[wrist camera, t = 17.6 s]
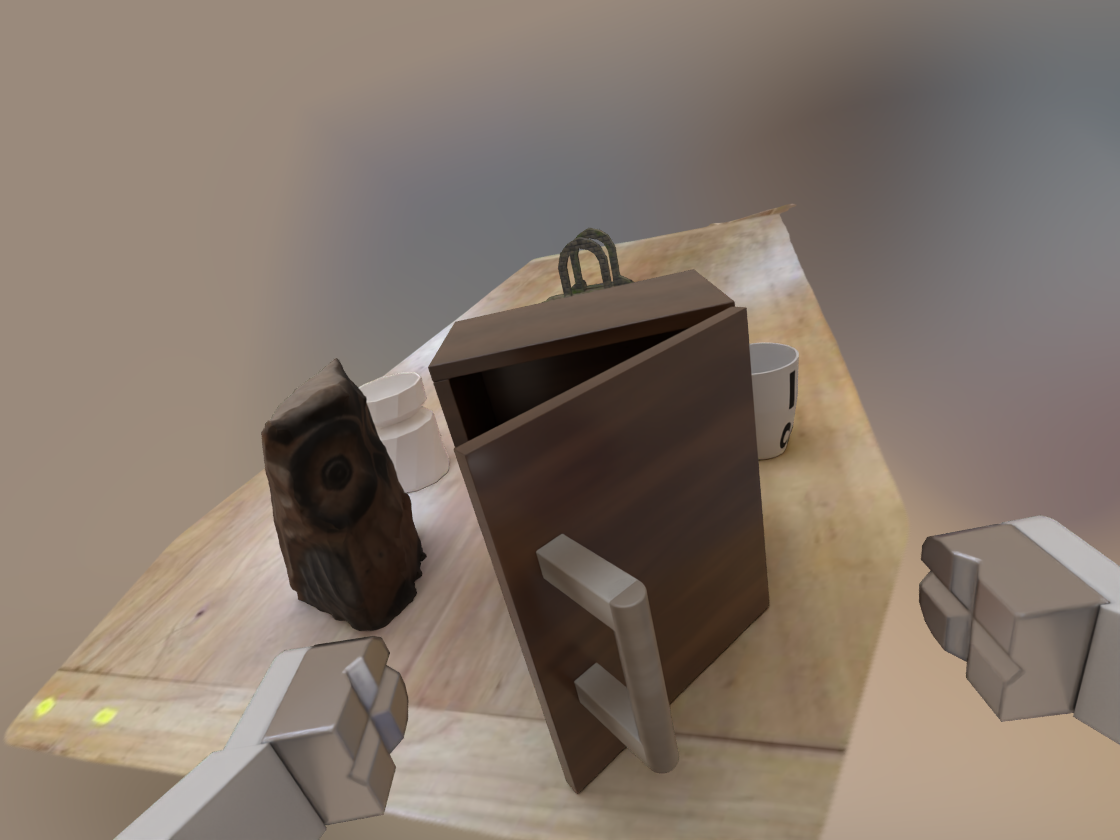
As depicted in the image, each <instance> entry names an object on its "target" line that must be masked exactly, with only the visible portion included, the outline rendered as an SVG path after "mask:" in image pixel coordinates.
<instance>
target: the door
mask: <svg viewBox="0 0 1120 840" xmlns="http://www.w3.org/2000/svg"><path fill="white" fill-rule="evenodd" d="M454 452H455V455H456V458H457V461H458V464H459V467H460V470H461V473H462V476H463V478H464V481H465V484H466V487H467V490H468V493H469V496H470V499H471V502H472V505H473V508H474V511H475V514H476V517H477V520H478V523H479V526H480V528H481V531H482V534H483V537H484V540H485V543H486V546H487V549H488V552H489V555H490V558H491V561H492V564H493V567H494V570H495V573H496V575H497V578H498V581H499V584H500V587H501V590H502V593H503V596H504V599H505V602H506V605H507V608H508V611H509V614H510V617H511V620H512V623H513V625H514V628H515V631H516V634H517V637H518V640H519V643H520V646H521V649H522V652H523V655H524V658H525V661H526V664H527V667H528V670H529V673H530V675H531V678H532V681H533V684H534V687H535V690H536V693H537V696H538V699H539V702H540V705H541V708H542V711H543V714H544V717H545V720H546V722H547V725H548V728H549V731H550V734H551V737H552V740H553V743H554V746H555V749H556V752H557V755H558V758H559V761H560V764H561V767H562V770H563V772H564V775H565V778H566V781H567V783H568V784H569V785H570V786H571V787H572V789H573V790H574V791H575V792H576V793H577V794H578V793H579V792H580V791H581V790H582V789H583V788H584V787H585V786H586V785H587V784H588V783H589V782H590V781H591V780H592V779H593V778H594V777H595V776H596V775H597V774H598V773H599V772H600V771H601V770H603V769H604V768H605V767H606V766H607V765H608V764H609V763H610V762H611V761H612V760H613V759H614V758H615V757H616V756H617V755H618V754H619V753H620V752H621V751H622V750H623V749H624V748H625V747H627V748H629V749H630V750H631V751H632V752H633V753H634V754H635V755H636V756H637V757H638V758H639V759H640V760H641V761H642V762H643V763H644V764H645V765H646V766H647V767H649V768H650V769H651V770H652V771H654V772H656V773H667V772H670V771H671V770H673V769H674V768H675V767H676V765H677V763H678V760H679V752H678V747H677V742H676V737H675V732H674V727H673V722H672V717H671V712H670V707H669V704H670V703H671V702H672V701H673V700H674V699H675V698H676V697H677V696H678V695H679V694H680V693H681V692H682V691H683V690H684V689H685V688H686V687H687V686H688V685H689V684H690V683H691V682H692V681H693V680H694V679H695V678H696V677H697V676H698V675H699V674H700V673H701V672H702V671H703V670H704V669H705V668H706V667H707V666H708V665H709V664H710V663H711V662H712V661H713V660H714V659H715V658H716V657H717V656H718V655H719V654H720V653H721V652H722V651H723V650H724V649H725V648H727V647H728V646H729V645H730V644H731V643H732V642H733V641H734V640H735V639H736V638H737V637H738V636H739V635H740V634H741V633H742V632H743V631H744V630H745V629H746V628H747V627H748V626H749V625H750V624H751V623H752V622H753V621H754V620H755V619H756V618H757V617H758V616H759V615H760V614H761V613H762V612H763V611H764V610H765V609H766V608H767V607H768V606H769V592H768V579H767V566H766V553H765V540H764V527H763V514H762V501H761V489H760V476H759V463H758V450H757V437H756V424H755V411H754V398H753V385H752V372H751V360H750V347H749V334H748V321H747V308H744V307H730V308H728V309H726V310H724V311H722V312H720V313H718V314H716V315H714V316H712V317H710V318H708V319H706V320H704V321H702V322H700V323H699V324H697V325H695V326H693V327H691V328H689V329H687V330H685V331H683V332H681V333H679V334H677V335H675V336H673V337H671V338H669V339H667V340H665V341H663V342H661V343H659V344H657V345H656V346H654V347H652V348H650V349H648V350H646V351H644V352H642V353H640V354H638V355H636V356H634V357H632V358H630V359H628V360H626V361H624V362H622V363H620V364H618V365H616V366H615V367H613V368H611V369H609V370H607V371H605V372H603V373H601V374H599V375H597V376H595V377H593V378H591V379H589V380H587V381H585V382H583V383H581V384H579V385H577V386H575V387H573V388H572V389H570V390H568V391H566V392H564V393H562V394H560V395H558V396H556V397H554V398H552V399H550V400H548V401H546V402H544V403H542V404H540V405H538V406H536V407H534V408H532V409H531V410H529V411H527V412H525V413H523V414H521V415H519V416H517V417H515V418H513V419H511V420H509V421H507V422H505V423H503V424H501V425H499V426H497V427H495V428H493V429H491V430H489V431H488V432H486V433H484V434H482V435H480V436H478V437H476V438H474V439H472V440H470V441H468V442H466V443H464V444H462V445H460V446H458V447H456V448H454Z"/></svg>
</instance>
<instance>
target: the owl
mask: <svg viewBox="0 0 1120 840" xmlns="http://www.w3.org/2000/svg"><path fill="white" fill-rule="evenodd" d="M366 401H367V397H366V396H364V394H363V393H362V391H361V390H360V389H359V388H358V387H357V386H356V385H355V384H354V383H353V382H352V381H351V380H350V379H349V378H348V376H347V375H346V373H345V371H344V370H343V367H342V365H341V363H340V362H339V360H338V359H337V358H336V359H334V360H333V361H332V362H330V363H329V364H328V365H327V366H325V367H324V368H323V369H322V370H321V371H320V372H318V373H317V374H316V375H315V376H314V377H312V378H310V379H309V380H307V381H306V382H305V383H304V384H302V385H301V386H299V387H298V388H297V389H295V390H294V392H293V393H292V394H291V395H290V396H289V397H287V398H286V399H285V400H284V401H283V402H282V403H281V404H280V405H279V406H278V408H277V409H276V411H275V412H274V414H273V415H272V417H271V419H270V421H268V422H266V424H265V428H264V429H263V431H262V433H261V435H262V445H263V453H264V463H265V471H266V475H267V478H268V481H269V486H270V492H271V502H272V507H273V517H274V523H275V527H276V531H277V534H278V539H279V544H280V548H281V551H282V554H283V557H284V562H285V564H286V568H287V574H288V577H289V582H290V586H291V588H292V589H293V590H295V591H296V592H297V594H298V600H301V601H304V602H306V603H307V604H310V605H312V606H315V607H316V608H317V609H318V610H320V611H323V612H328V613H330V614H331V615H332V616H333V618H334V619H336V620H344V621H348V622H349V624H350V625H351V626H352V627H353V628H354V629H356V630H359V631H365V630H376V629H379V628H382V627H384V626H386V625H387V624H388V623H390V621H391V620H392V619H393V618H394V617H395V616H397V615H398V614H400V613H401V611H402V610H403V609H404V608H405V607H406V606H407V605H408V604H409V603H411V602H412V601H413V599H414V597H415V596H416V595H417V591H416V588H415V583H414V582H415V580H416V579H418V578H420V577H421V576H422V571H421V570H420V565H421V563H420V561H423V560H424V559H425V558H426V557H427V556H426V554H425V553H423V550H422V549H423V548H422V547H421V541H420V539H419V536H418V534H417V531H416V528H415V525H414V522H413V518H412V510H411V500H410V497H409V496H408V494H407V493H405V492H404V490H403V488H402V486H401V484H400V482H399V481H398V477H397V473H396V470H395V467H394V464H393V462H392V460H391V458H390V456H389V454H388V453H387V449H386V447H385V445H383V443H382V442H381V440H380V438H379V436H378V433H377V430H376V428H375V424H374V422H373V420H372V416H371V413H370V410H369V408H368V405H367V402H366Z"/></svg>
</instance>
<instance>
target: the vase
mask: <svg viewBox="0 0 1120 840" xmlns="http://www.w3.org/2000/svg"><path fill="white" fill-rule="evenodd" d="M359 389H360V390H361V391H362V393H363V394H364V396H366V397H367V401H366V402H367V405H368V408H369V410H370V413H371V416H372V420H373V422H374V424H375V428H376V430H377V433H378V436H379V438H380V440H381V442H382V443H383V445H385V447H386V449H387V453H388V454H389V456H390V458H391V460H392V462H393V464H394V467H395V470H396V473H397V477H398V481H399V482H400V484H401V486H402V488H403V490H404V492H405V493H407V492H413V491H418V490H420V489H422V488H424V487H426V486H429V485H431V484H433V483H435V482H437V481H438V480H439V479H440V478H441V477H442V476H443V475H445V474H446V473H447V472H448V469H449V464H450V461H449V457H448V454H447V451H446V449H445V447H444V444H443V442H442V439H441V435H440V431H439V428H438V425H437V421H436V418H435V416H434V413H433V411H432V410H430V409H428V408H425V407H423V406H422V405H423V404H424V402H425V401H426V399H427V397H426V393H425V389H424V385H423V382H422V378H421V376H420V375H418V374H417V373H416V372H409V373H397V374H393V375H389V376H385V377H381V378H378V379H376V380H374V381H371V382H369V383H367V384H364V385H362V386H360V387H359Z"/></svg>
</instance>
